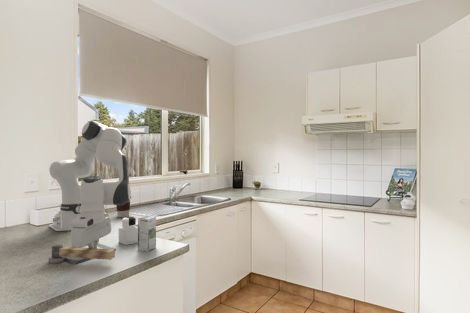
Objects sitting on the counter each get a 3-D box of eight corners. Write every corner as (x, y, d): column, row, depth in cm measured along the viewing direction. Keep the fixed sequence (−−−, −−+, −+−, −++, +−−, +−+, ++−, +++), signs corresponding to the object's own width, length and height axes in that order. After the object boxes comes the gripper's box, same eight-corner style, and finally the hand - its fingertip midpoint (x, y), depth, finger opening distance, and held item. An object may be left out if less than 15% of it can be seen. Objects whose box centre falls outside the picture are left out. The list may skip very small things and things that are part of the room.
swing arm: (49, 257, 116) (49, 247, 116) (56, 253, 120) (56, 244, 120) (109, 261, 112) (109, 251, 112) (115, 257, 116) (115, 247, 116)
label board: (40, 259, 119) (40, 255, 119) (94, 244, 138) (94, 241, 138) (61, 268, 110) (61, 264, 110) (115, 250, 130) (115, 247, 130)
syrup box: (145, 246, 136) (145, 215, 135) (156, 247, 133) (156, 216, 133) (137, 250, 130) (137, 217, 130) (148, 252, 128) (148, 218, 128)
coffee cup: (126, 218, 191) (126, 195, 191) (112, 217, 193) (112, 194, 193) (133, 214, 201) (133, 193, 201) (120, 214, 203) (120, 192, 202)
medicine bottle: (131, 239, 147) (131, 215, 146) (139, 241, 142) (139, 217, 142) (118, 242, 141) (118, 217, 141) (126, 245, 137) (126, 220, 136)
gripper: (101, 211, 128) (101, 242, 129) (67, 223, 108) (67, 260, 109) (114, 211, 127) (115, 243, 128) (82, 224, 107) (83, 261, 108)
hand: (93, 251), depth 118 cm, fingers closed
